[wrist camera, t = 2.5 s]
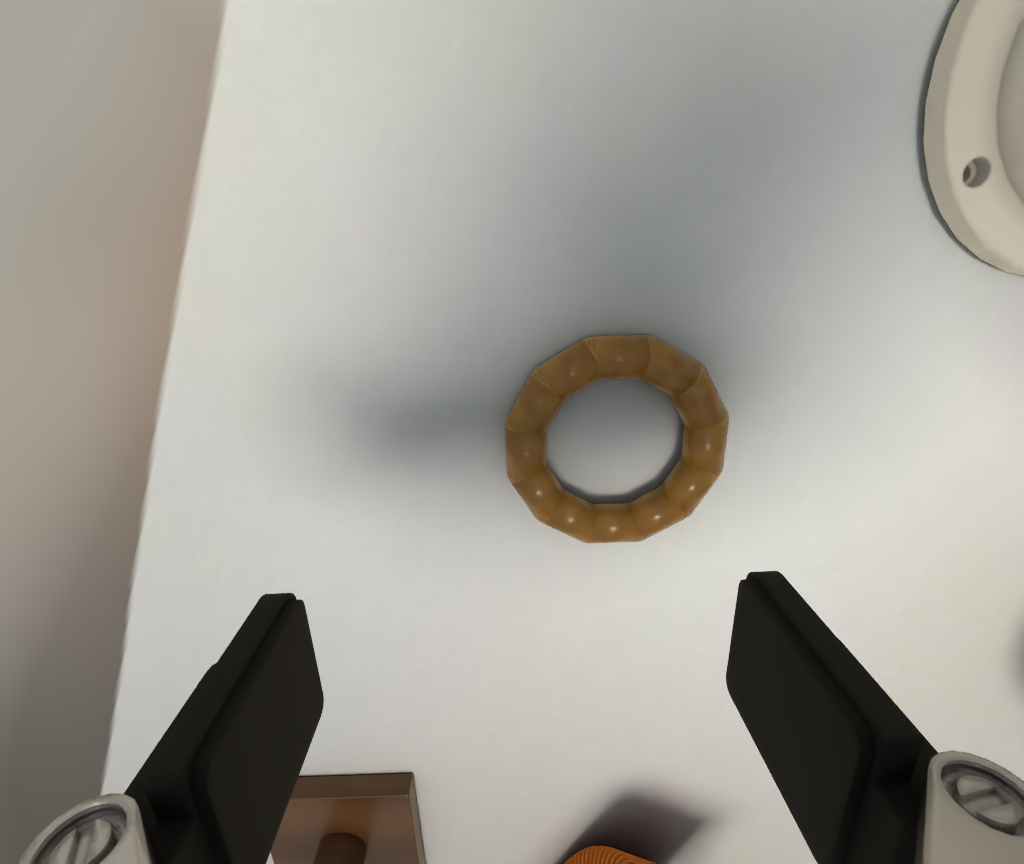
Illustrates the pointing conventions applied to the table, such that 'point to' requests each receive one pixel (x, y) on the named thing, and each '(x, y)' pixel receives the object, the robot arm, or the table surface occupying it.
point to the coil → (605, 856)
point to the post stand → (351, 821)
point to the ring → (607, 362)
